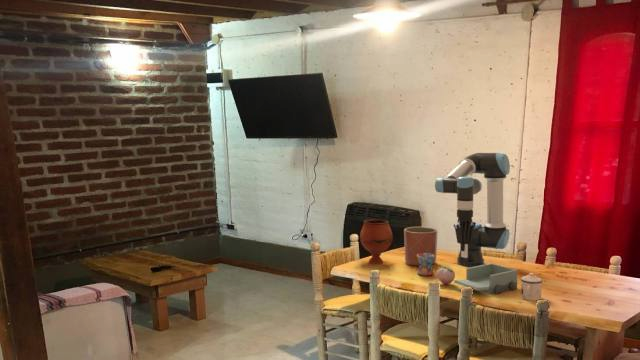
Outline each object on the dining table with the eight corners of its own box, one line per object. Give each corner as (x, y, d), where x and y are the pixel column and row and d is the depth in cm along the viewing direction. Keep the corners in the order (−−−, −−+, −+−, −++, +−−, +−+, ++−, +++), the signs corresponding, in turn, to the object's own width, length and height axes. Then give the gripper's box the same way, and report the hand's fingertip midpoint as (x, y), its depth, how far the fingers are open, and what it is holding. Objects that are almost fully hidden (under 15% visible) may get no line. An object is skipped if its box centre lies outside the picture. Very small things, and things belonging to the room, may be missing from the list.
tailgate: (466, 279, 260) (454, 280, 256) (489, 286, 247) (477, 287, 243) (465, 282, 260) (453, 283, 256) (488, 290, 247) (476, 291, 243)
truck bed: (489, 279, 271) (489, 262, 271) (519, 288, 255) (520, 270, 254) (463, 284, 262) (464, 267, 262) (493, 295, 246) (494, 276, 245)
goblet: (394, 266, 299) (394, 223, 296) (361, 267, 299) (360, 224, 296) (390, 258, 318) (390, 218, 315) (359, 258, 318) (358, 218, 316)
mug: (427, 277, 276) (427, 258, 275) (413, 274, 283) (413, 255, 282) (440, 273, 284) (440, 254, 283) (426, 270, 291) (426, 251, 290)
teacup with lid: (522, 293, 248) (523, 269, 247) (543, 296, 243) (543, 272, 242) (517, 300, 238) (517, 275, 236) (538, 304, 233) (539, 278, 232)
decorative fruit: (458, 284, 263) (458, 265, 262) (450, 288, 258) (450, 268, 257) (441, 280, 270) (442, 262, 269) (433, 284, 264) (433, 265, 263)
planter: (430, 269, 293) (430, 234, 291) (398, 264, 303) (398, 230, 301) (441, 261, 309) (442, 228, 307) (411, 257, 319) (411, 225, 317)
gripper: (468, 206, 257) (467, 253, 259) (449, 209, 250) (448, 257, 253) (480, 208, 251) (479, 256, 253) (461, 211, 244) (460, 260, 246)
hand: (464, 257), depth 253 cm, fingers closed
